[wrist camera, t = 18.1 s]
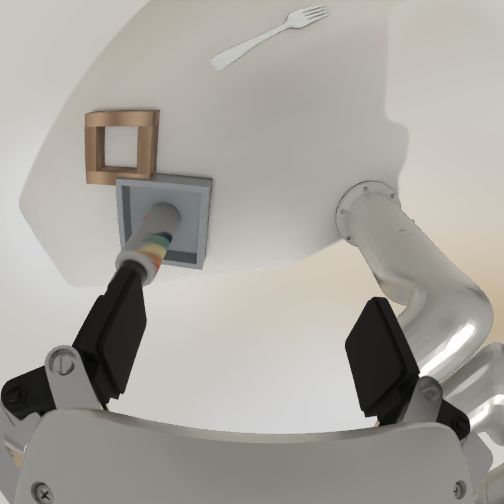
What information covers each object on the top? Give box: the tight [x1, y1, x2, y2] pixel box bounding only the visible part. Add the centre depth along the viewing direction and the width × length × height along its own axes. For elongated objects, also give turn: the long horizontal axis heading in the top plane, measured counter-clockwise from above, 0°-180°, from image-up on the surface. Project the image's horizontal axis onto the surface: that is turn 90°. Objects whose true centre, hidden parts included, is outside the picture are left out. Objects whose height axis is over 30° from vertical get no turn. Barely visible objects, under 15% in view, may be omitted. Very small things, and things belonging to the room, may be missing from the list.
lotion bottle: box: [107, 203, 180, 289], centre depth 37 cm, size 6×6×20 cm
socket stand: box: [85, 110, 160, 188], centre depth 38 cm, size 12×12×3 cm
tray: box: [116, 173, 212, 270], centre depth 44 cm, size 15×15×4 cm
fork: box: [211, 5, 332, 71], centre depth 30 cm, size 3×21×3 cm, turn 123°
